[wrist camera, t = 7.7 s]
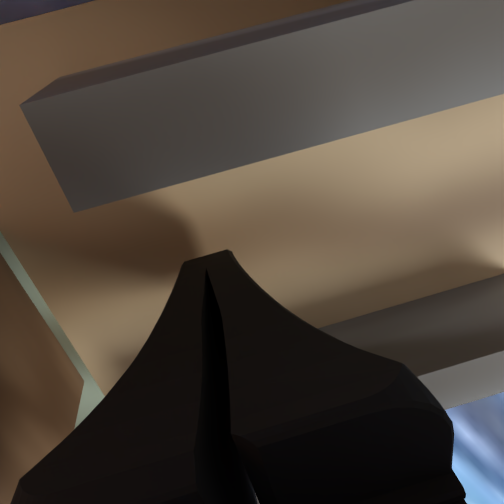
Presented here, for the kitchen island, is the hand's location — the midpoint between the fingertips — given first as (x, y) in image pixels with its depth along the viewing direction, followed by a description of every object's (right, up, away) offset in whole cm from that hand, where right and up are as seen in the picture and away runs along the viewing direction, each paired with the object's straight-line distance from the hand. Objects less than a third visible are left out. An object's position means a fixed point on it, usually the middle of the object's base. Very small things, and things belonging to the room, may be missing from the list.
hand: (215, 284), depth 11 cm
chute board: (0, +1, +2) cm, 3 cm away
